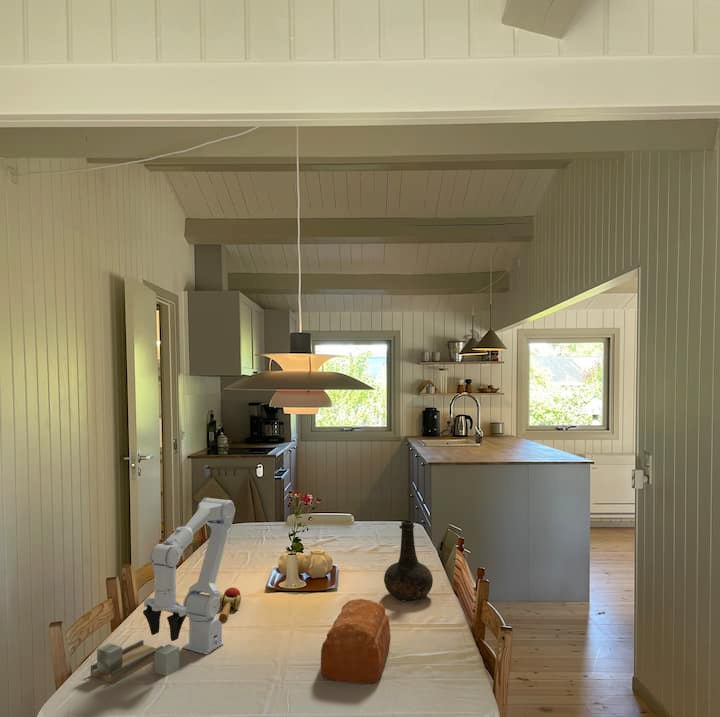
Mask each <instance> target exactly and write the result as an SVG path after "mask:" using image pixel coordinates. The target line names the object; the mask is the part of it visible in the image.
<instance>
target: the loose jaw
mask: <svg viewBox="0 0 720 717" xmlns="http://www.w3.org/2000/svg"><path fill="white" fill-rule="evenodd" d="M179 669H180V647H179V646H177V645H173V644H169V643H168V644H166V645H164V646H163V647H162V648H160V649H159V650H157V651H155V661H154V672H155V674H156V675H157V674H158V675H161V676H164V677H167V676H169V675H170V674H172V673H174V672H175V671H177V670H179Z"/></svg>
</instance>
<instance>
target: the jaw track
mask: <svg viewBox="0 0 720 717" xmlns="http://www.w3.org/2000/svg"><path fill="white" fill-rule="evenodd" d="M144 641H145V640H142V639H141V640H138V641H137V642H135V643H132V644H131V645H129V646H127V647H125V648H123V647H122V646H120V645H116V644H113V643H109V642H108V643H107V644H105V645H103V646H101V647H99V648H96V649H97V650H96V660H97V661H96V662H95V663H94V664H91V665H90V670H89V671H90V676H91V677H94V678H97V679H100V680H102V681H105V682H108V683H111V684H115V683H117V682H118V681H119V682H120V680H122V679H124V678H126V677H128V676H130V675H132V674H133V673H134V672H136V671H138V670H140V669H142V668H144V667H146V666H147V665H149V664H151V663H153V662H155V651H157V650H159V649H160V648H162V647H164V646H163V645H160V646H158V647H154V646H150V645H147V644H145V643H144Z"/></svg>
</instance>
